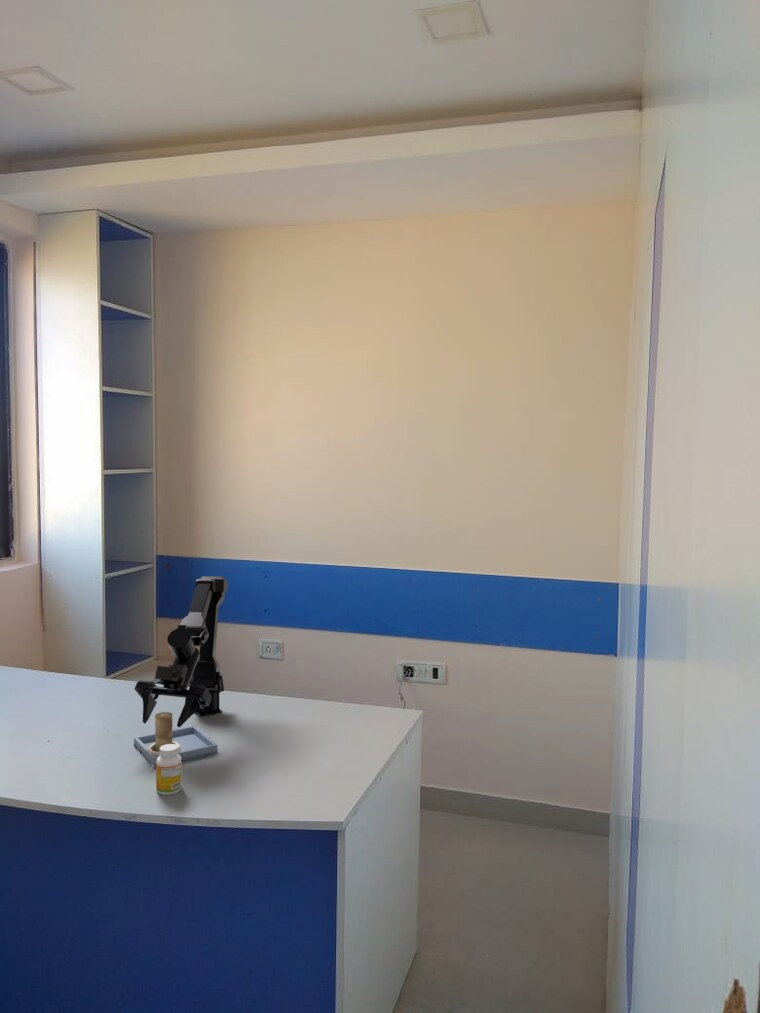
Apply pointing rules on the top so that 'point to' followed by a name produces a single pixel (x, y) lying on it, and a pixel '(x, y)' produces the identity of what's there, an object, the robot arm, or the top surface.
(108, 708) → the top surface
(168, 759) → the supplement bottle
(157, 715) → the peg
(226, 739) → the top surface
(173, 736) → the tray
